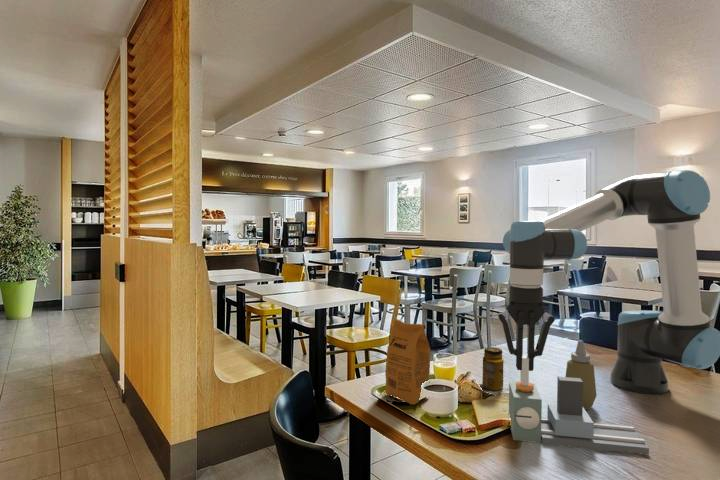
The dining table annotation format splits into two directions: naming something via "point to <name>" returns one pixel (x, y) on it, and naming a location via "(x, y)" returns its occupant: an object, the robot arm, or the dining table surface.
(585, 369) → the squeeze bottle
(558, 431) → the carriage
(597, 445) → the rail bed
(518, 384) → the button
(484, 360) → the condiment
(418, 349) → the coffee package
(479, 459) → the dining table surface
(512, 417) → the gauge cabinet
